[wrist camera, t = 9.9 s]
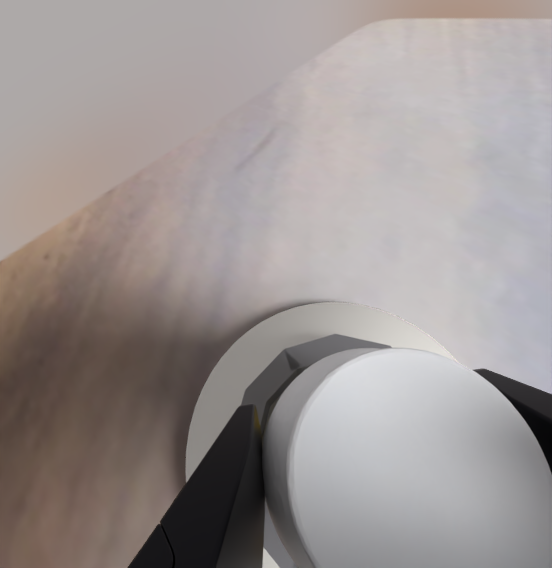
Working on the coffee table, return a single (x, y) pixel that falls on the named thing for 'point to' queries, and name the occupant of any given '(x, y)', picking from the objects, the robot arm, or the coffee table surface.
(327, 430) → the supplement bottle
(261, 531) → the robot arm
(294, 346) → the socket collar
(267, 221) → the coffee table surface
